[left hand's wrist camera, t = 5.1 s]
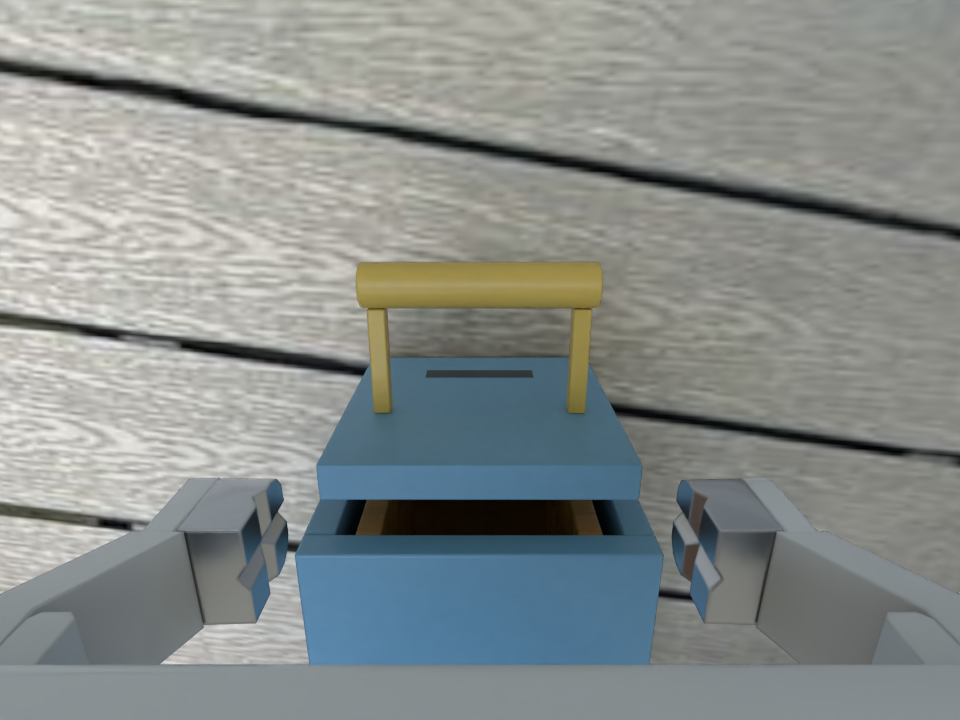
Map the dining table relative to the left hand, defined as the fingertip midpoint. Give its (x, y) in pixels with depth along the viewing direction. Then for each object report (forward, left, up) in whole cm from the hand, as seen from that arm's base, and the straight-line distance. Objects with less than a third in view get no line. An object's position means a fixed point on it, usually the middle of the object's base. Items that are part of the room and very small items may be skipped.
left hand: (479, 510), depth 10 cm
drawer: (+8, +6, -15) cm, 18 cm away
